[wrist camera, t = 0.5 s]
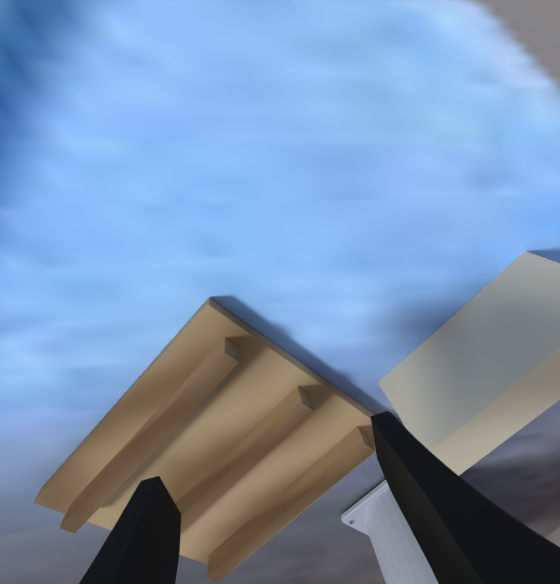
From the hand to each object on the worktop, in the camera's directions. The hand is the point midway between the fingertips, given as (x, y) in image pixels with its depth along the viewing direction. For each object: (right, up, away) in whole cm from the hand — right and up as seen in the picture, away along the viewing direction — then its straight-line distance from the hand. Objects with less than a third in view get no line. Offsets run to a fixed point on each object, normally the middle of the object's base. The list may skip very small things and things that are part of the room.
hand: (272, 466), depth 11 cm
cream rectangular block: (+12, +3, +11) cm, 16 cm away
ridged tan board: (-4, -6, +12) cm, 14 cm away
